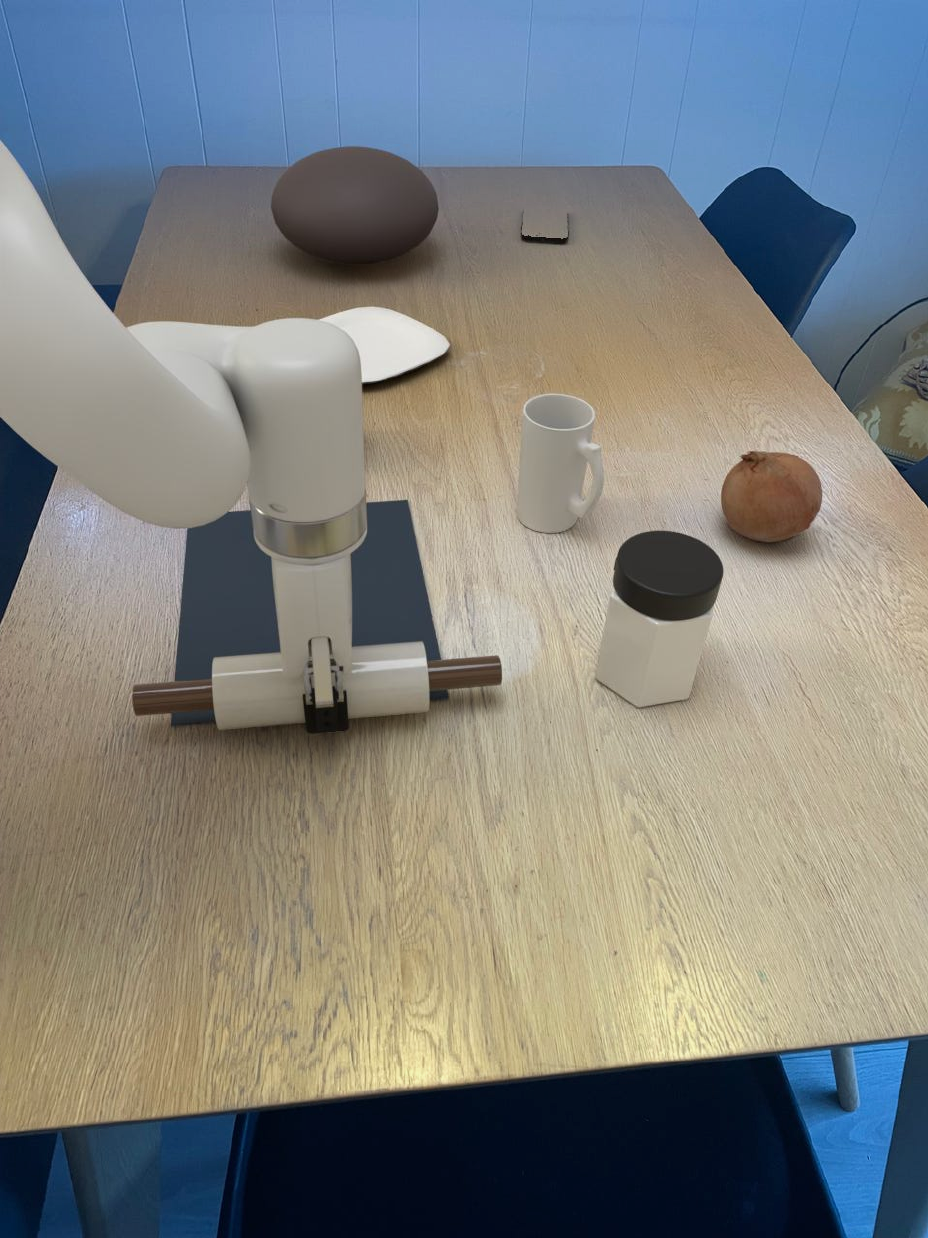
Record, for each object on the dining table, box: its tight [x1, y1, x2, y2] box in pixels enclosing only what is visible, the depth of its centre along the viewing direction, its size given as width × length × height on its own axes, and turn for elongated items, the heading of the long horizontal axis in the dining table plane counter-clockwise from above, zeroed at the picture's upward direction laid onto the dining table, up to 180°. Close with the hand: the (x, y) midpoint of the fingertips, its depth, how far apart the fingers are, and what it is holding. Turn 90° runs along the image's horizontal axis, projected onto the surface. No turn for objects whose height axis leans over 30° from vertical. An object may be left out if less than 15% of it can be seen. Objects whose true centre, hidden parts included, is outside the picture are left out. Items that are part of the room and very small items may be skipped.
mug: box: [516, 393, 605, 534], centre depth 90 cm, size 10×7×12 cm, turn 37°
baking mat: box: [170, 499, 450, 727], centre depth 85 cm, size 28×22×1 cm
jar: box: [594, 530, 725, 708], centre depth 75 cm, size 9×8×12 cm
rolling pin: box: [131, 641, 503, 731], centre depth 72 cm, size 28×6×6 cm, turn 99°
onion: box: [720, 450, 823, 544], centre depth 92 cm, size 10×9×10 cm
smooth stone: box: [270, 145, 440, 266], centre depth 139 cm, size 25×25×15 cm
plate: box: [318, 306, 451, 385], centre depth 120 cm, size 18×18×2 cm
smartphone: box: [520, 226, 570, 244], centre depth 156 cm, size 8×1×15 cm
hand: (325, 697), depth 73 cm, fingers closed on rolling pin, 5 cm apart
